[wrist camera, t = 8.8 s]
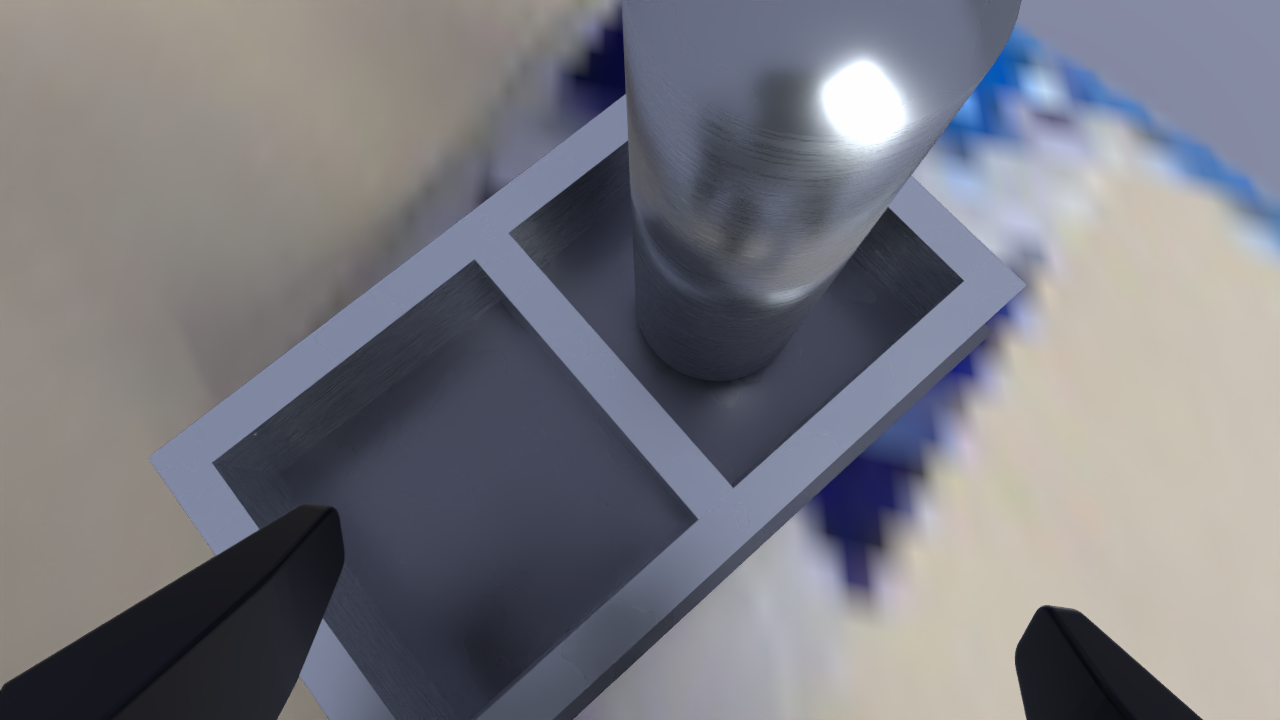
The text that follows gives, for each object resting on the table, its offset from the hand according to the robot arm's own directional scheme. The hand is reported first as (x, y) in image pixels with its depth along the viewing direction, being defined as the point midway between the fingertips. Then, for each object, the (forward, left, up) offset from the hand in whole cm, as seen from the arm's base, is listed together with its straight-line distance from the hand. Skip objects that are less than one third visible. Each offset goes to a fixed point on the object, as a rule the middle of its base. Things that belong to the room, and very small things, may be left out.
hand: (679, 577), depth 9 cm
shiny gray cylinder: (+6, +4, -9) cm, 11 cm away
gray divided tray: (+2, +4, -10) cm, 11 cm away
